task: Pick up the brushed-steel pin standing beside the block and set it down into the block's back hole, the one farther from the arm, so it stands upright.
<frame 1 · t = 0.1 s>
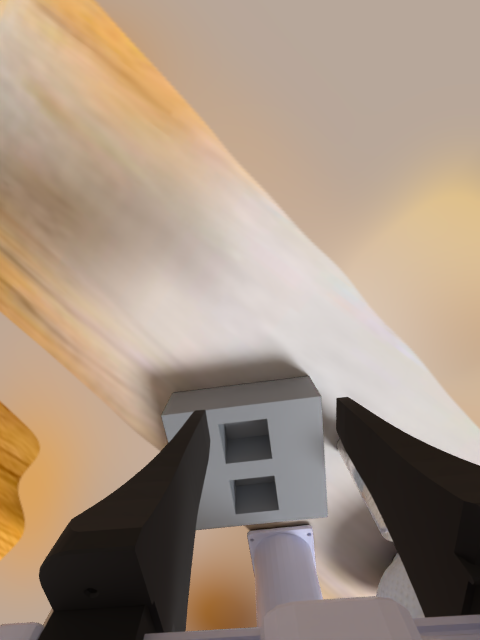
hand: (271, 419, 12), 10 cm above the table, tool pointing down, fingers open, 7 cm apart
pin: (350, 444, 25), on the table
cereal bowl: (421, 559, 30), on the table
hole block: (249, 441, 25), on the table
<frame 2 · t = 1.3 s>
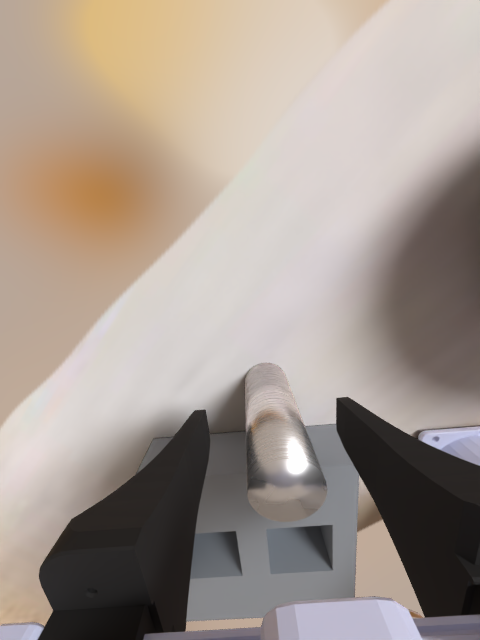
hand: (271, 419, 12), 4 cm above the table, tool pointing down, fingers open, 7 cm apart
pin: (265, 382, 16), on the table
hole block: (251, 501, 19), on the table
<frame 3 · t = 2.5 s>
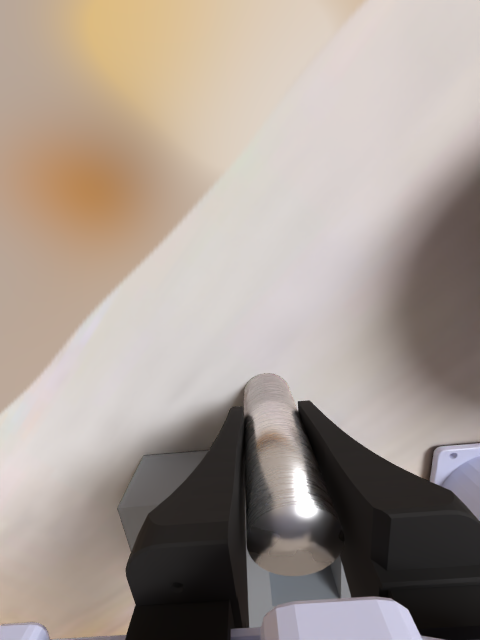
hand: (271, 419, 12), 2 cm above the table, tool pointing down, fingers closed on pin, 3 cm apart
pin: (266, 394, 15), on the table, touching gripper
hole block: (251, 521, 18), on the table
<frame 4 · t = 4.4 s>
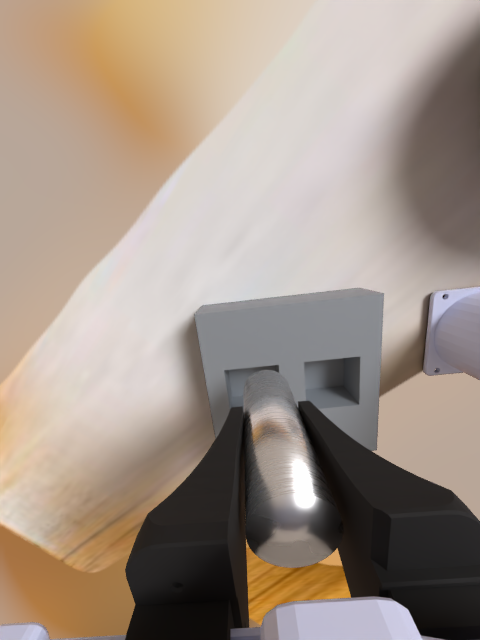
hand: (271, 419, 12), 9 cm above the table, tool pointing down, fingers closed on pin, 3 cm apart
pin: (266, 391, 15), point 7 cm above the table, touching gripper
hole block: (285, 368, 22), on the table
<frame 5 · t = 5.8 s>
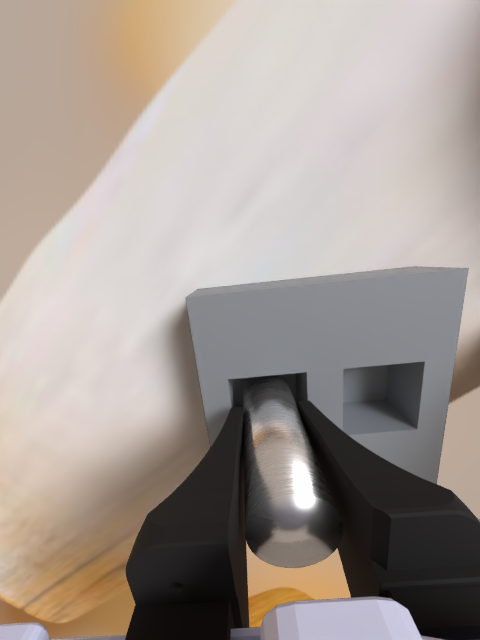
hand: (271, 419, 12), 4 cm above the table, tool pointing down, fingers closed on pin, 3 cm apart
pin: (266, 391, 15), point 2 cm above the table, touching gripper
hole block: (308, 375, 16), on the table
when the fingers open (4 cm above the table, at t = 6.5 s): pin drops 1 cm, resting on hole block.
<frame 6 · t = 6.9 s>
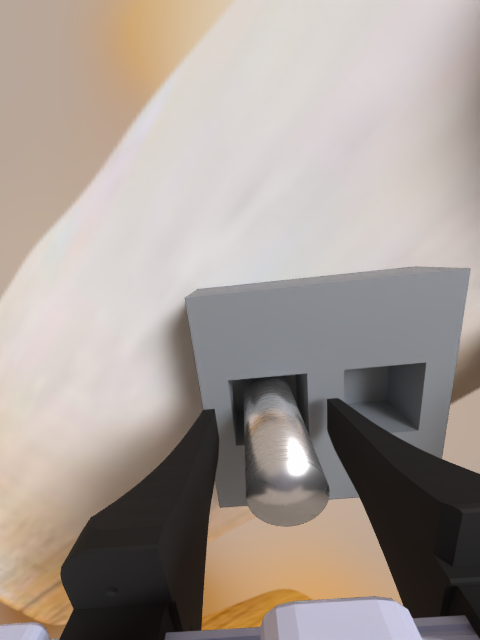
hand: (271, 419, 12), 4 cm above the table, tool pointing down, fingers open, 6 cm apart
pin: (264, 381, 16), point 1 cm above the table, touching hole block
hole block: (308, 376, 16), on the table
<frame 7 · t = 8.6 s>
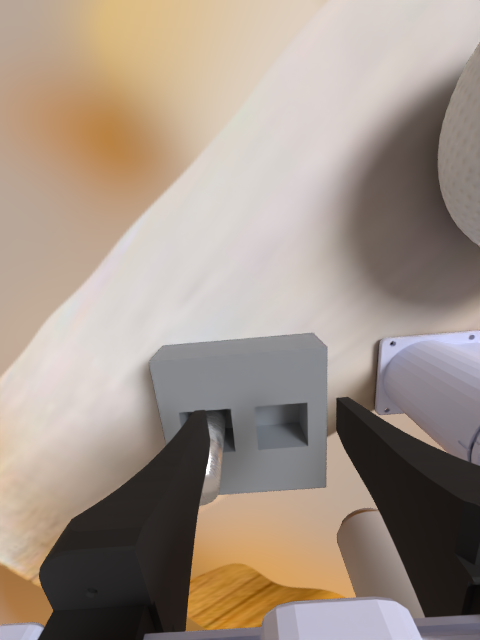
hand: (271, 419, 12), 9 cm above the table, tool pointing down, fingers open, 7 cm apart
pin: (211, 408, 22), point 1 cm above the table, touching hole block
can: (364, 524, 27), on the table
hole block: (244, 404, 23), on the table
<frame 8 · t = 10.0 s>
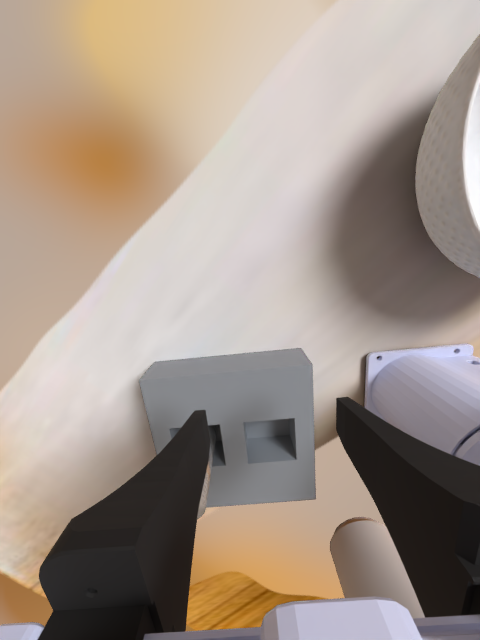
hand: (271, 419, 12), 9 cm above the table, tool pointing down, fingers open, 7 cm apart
pin: (203, 422, 23), point 1 cm above the table, touching hole block
can: (357, 533, 28), on the table
hole block: (235, 417, 23), on the table
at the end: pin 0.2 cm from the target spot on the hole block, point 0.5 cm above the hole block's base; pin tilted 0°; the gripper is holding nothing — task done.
